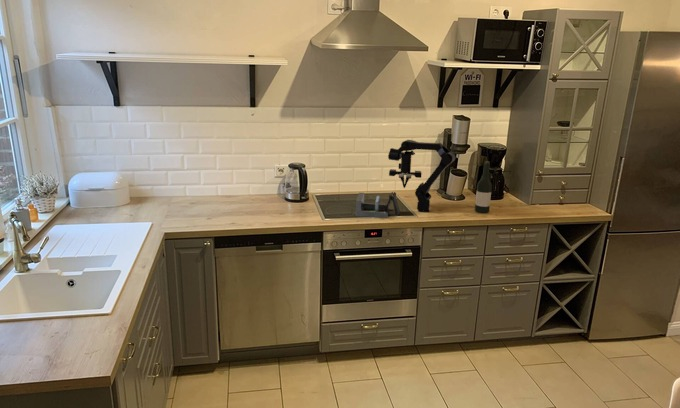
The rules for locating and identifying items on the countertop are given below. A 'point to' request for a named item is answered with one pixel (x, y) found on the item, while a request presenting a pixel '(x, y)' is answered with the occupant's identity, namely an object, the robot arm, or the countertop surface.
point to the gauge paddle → (377, 204)
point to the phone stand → (393, 204)
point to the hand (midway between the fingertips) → (404, 187)
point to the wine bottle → (483, 191)
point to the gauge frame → (361, 205)
